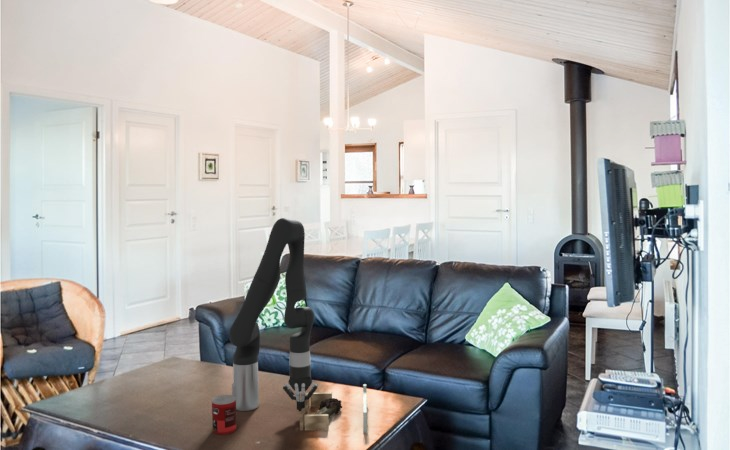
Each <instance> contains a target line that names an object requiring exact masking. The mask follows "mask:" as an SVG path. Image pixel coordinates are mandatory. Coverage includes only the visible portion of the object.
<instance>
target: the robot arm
mask: <svg viewBox="0 0 730 450" xmlns="http://www.w3.org/2000/svg"><path fill="white" fill-rule="evenodd" d="M305 235H306V234H305V227H304V225H303V223H302V222H301V221H299V220H296V219H293V218H286V217H284V218H282V217H281V218H279V219H277V220H276V221H275V222H274V223H273V226H272V228H271V231H270V234H269V236H268V240H267V243H266V247H265V250H264V252H263V255H262V257H261V259H260V263H259V264H258V267H257V269H256V271H255V274H254V276H253V278H252V280H251V283H250V284H249V285H250V286H249V289H248V291H247V293H246V295H245V298H244V300H243V303H242V307H241V308H240V310H239V312H238V314H237V316H236V317H235V319H234V321H233V323H232V325H231V326H230V328H229V332H228V333H229V334H228V336H229V337H228V338H229V341H230V343H231V345H233V346H235V351H234V354H233V355H232V369H233V370H232V371H233V373H232V374H233V375H232V376H233V377H232V378H233V379H232V380H233V381H232V384H231V395H233V396H235V397H236V411H238V412H239V411H241V412H246V411H247V412H248V411H253V410H256V409H257V408H259V405H260V399H259V398H260V397H259V396H260V395H259V394H260V393H259V392H260V391H259V390H260V389H259V356H260V355H259V353H260V350H261V348H260V347H261V345H260V344H261V343H260V342H261V340H260V339H261V333H260V327H259V323H258V319H259V318H260V315H261V314H262V313H263V310H265V308H266V307H267V305H268V304H269V303H270V300H272V298H273V296H274V294H275V292H276V290H277V288H278V285H279V283H280V281H281V257H282V254H283V252H284V250H285V248H286V245H287V246H288V251H289V259H288V264H287V268H286V271H285V276H284V278H285V279H284V284H285V291H286V302H285V309H284V315H283V318H284V319H283V322H284V324H285V326H286V327H287V328H288V329H298V328H301V329H300V330H299V331H298V332H296V333H293V334H291V335H290V337H289V359H288V360H289V361H288V362H289V378H288V382H287V383H285V384H283V387H282V389H283V391H284V392H285V393H286V395H288V397H289V398H290V399H291V400H292V401H295V402H296V411H298V412H300V413H301V410H302V409H303V408H305V400H309V401H310V399H311V396H312V395H313V393H316V390H317V389H318V387H319V385H318V383H315V382H314V381H313V378H312V372H311V371H312V367H311V366H312V365H311V363H312V358H311V349H310V347H311V345H310V343H311V342H310V340H311V333H312V329H313V325H314V322H315V313H314V310H313V309H312V308H311V307H310V306H303V307H296V304H297V303H298V302H302V301H304V300H305V299H306V298H307V289H306V288H307V287H306V281H305V265H304V264H305V239H306V238H305ZM291 388H292V389H291ZM308 389H310V390H309V391H308ZM293 391H294V392H293ZM306 391H308V392H306ZM306 393H308V394H307V395H306Z"/></svg>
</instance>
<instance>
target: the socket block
mask: <svg viewBox="0 0 730 450" xmlns="http://www.w3.org/2000/svg"><path fill="white" fill-rule="evenodd" d="M308 393H309V392H306V393H305V395H307V394H308ZM329 398H333V392H326V391H325V392H314V393H313V395H312V396H311V397H310V399H309V400H305V408H303V409H302V410H301V412H300V414H299V431H329V430H330V429H329V427H330V423H329V422H330V421H329V419H330V418H329V416H328V414H315V413H313V414H306V413H308V411H309V408H317V407H318V408H319V407H320V403H321V401H322V400H326V399H329Z"/></svg>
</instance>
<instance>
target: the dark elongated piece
mask: <svg viewBox="0 0 730 450" xmlns="http://www.w3.org/2000/svg"><path fill="white" fill-rule="evenodd" d="M342 408H343V405H342V400H339V399H337V398H333V397H332V398H329V399H326V400H322V401H321V403H320V407H318V411H316V412H315V413H314V414H328V416H329V419H330V417H332V416H334V415H336V414H337V415H338V414H340V411H341V409H342Z"/></svg>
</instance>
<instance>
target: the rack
mask: <svg viewBox="0 0 730 450" xmlns="http://www.w3.org/2000/svg"><path fill="white" fill-rule="evenodd" d="M362 388H363V389H362V390H363V391H362V396H363V397H362V398H363V399H362V400H363V403H362V407H363V410H362V411H363V413H362V415H363V418H362V419H363V421H362V422H363V423H362V424H363V434H368V405H367V401H368V399H367V384H366V383H364V384H362Z"/></svg>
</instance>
